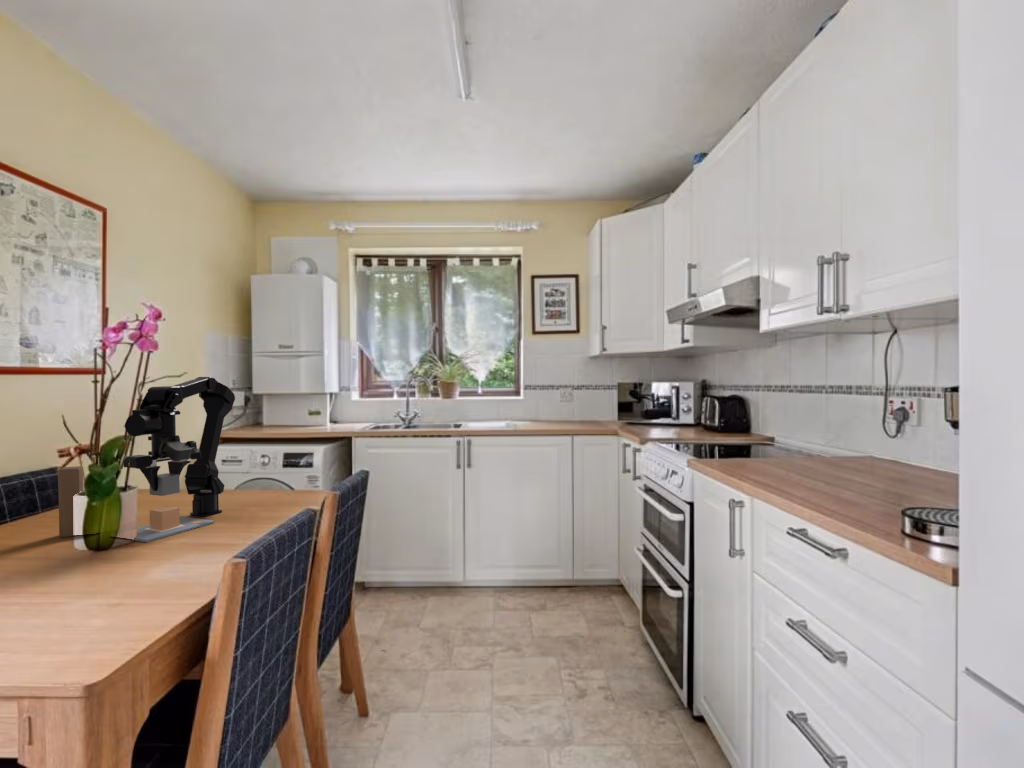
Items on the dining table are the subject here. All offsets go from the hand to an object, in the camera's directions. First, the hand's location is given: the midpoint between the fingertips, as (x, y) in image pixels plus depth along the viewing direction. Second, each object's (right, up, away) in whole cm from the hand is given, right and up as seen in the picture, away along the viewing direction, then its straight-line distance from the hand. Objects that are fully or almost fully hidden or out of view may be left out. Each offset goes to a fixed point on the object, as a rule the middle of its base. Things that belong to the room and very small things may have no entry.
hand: (164, 488), depth 155 cm
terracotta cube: (0, -11, 0) cm, 11 cm away
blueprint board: (0, -11, 0) cm, 11 cm away
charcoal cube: (0, -1, 0) cm, 1 cm away
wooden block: (-20, -12, -4) cm, 23 cm away
